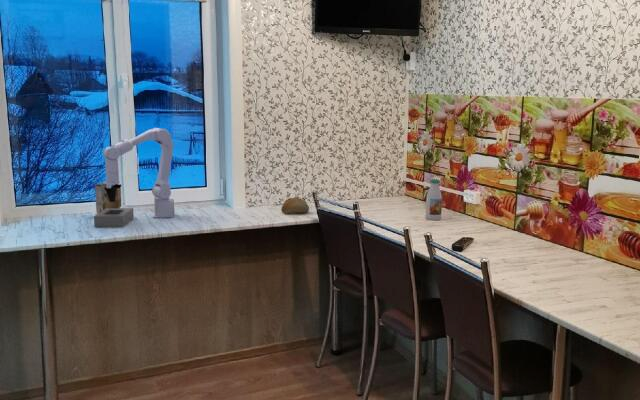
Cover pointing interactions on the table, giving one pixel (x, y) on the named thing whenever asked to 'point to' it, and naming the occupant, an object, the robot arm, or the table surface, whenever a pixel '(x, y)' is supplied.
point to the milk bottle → (434, 201)
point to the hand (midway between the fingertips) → (113, 200)
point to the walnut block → (117, 200)
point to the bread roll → (295, 206)
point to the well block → (113, 217)
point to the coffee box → (101, 197)
